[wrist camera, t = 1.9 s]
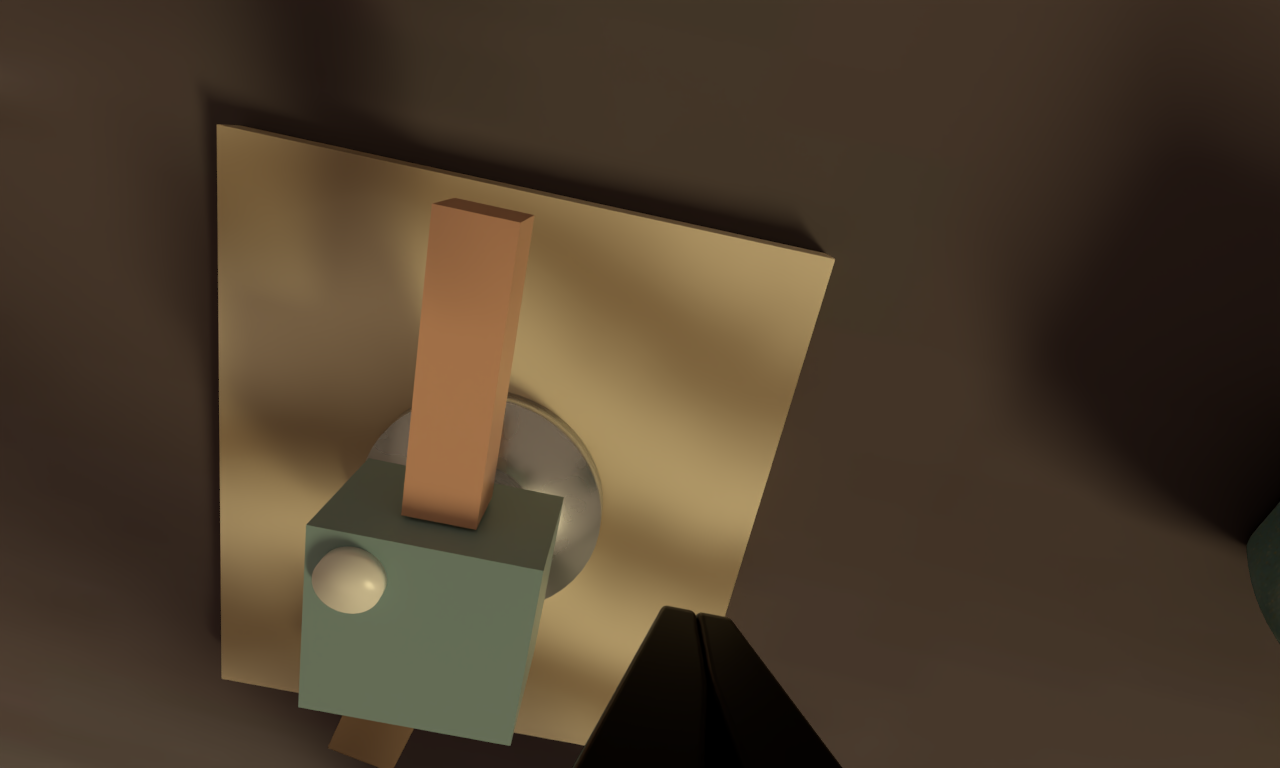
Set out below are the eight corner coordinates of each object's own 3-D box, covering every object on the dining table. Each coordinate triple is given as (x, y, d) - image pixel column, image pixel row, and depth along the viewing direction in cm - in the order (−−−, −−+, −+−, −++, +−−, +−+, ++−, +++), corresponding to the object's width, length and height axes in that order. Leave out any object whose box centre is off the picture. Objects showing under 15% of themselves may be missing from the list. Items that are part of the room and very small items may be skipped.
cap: (534, 651, 18) (507, 757, 15) (356, 617, 18) (291, 718, 15) (616, 227, 14) (603, 250, 11) (390, 178, 14) (311, 188, 11)
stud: (581, 613, 21) (568, 684, 18) (363, 570, 21) (316, 636, 18) (623, 415, 19) (617, 462, 16) (379, 365, 19) (329, 404, 16)
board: (678, 739, 24) (679, 762, 23) (239, 657, 24) (221, 678, 23) (826, 253, 18) (835, 259, 17) (240, 125, 18) (216, 124, 17)
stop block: (446, 652, 22) (414, 727, 19) (424, 694, 23) (391, 772, 20) (389, 629, 22) (348, 701, 19) (369, 671, 22) (327, 747, 20)
